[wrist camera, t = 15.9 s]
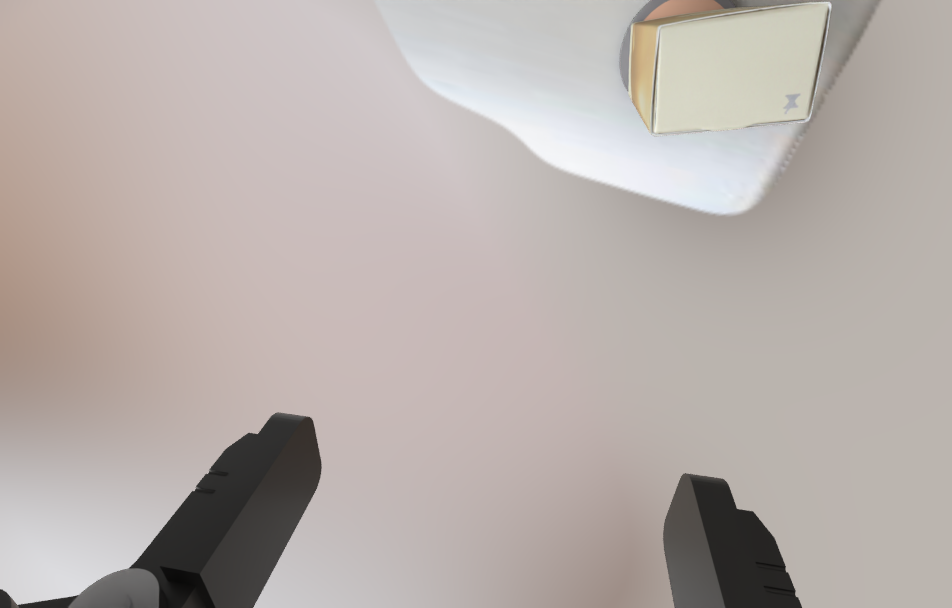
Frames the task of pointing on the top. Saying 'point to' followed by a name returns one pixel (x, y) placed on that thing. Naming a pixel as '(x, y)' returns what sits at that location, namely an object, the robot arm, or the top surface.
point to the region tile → (662, 5)
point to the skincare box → (728, 67)
